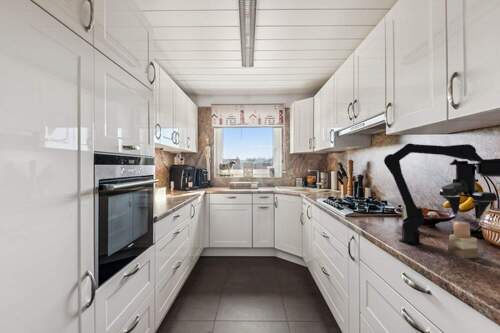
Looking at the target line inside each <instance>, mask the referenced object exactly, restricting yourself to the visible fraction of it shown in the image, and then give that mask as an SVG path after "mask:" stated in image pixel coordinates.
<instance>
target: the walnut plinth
mask: <svg viewBox="0 0 500 333" xmlns="http://www.w3.org/2000/svg"><path fill="white" fill-rule="evenodd" d="M447 253H448V254H450V255H454V256H455V257H459V258H461V259H473V258H474V259H475V258H479V248H478V247H477V248H472V249H462V248H459V247H456V246H453V245H450V243H447Z"/></svg>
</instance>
